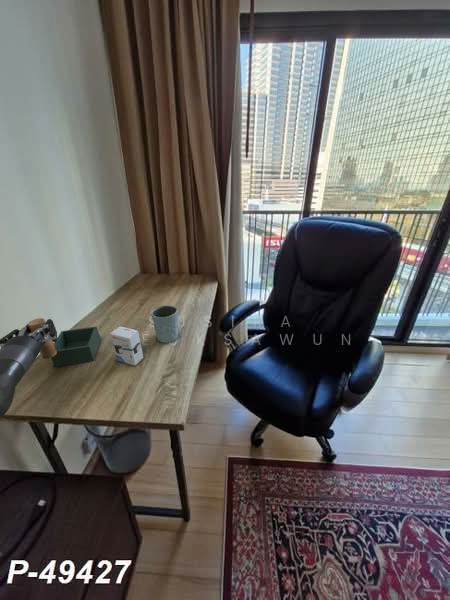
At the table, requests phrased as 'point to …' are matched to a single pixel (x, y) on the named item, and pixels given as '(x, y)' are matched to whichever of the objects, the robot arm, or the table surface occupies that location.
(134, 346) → the ink box
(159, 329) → the blue grey cup
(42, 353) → the wooden cylinder
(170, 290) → the table surface
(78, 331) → the bin
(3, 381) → the robot arm
